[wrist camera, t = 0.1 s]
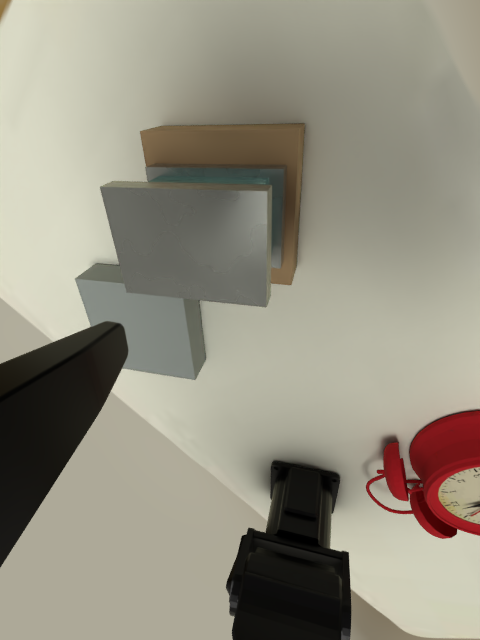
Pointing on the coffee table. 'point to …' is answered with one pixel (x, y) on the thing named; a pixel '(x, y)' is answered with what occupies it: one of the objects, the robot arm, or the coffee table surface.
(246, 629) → the robot arm
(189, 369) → the stand
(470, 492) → the alarm clock
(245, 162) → the stand
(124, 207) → the housing
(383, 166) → the coffee table surface
